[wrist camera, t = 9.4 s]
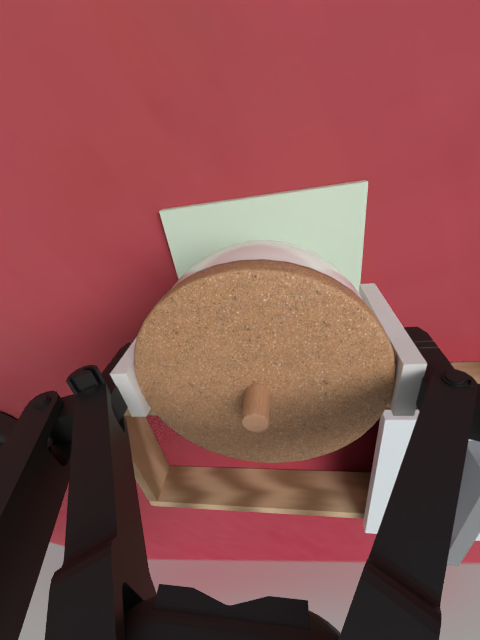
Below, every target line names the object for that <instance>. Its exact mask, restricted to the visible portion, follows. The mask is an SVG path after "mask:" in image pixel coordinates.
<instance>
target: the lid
mask: <svg viewBox="0 0 480 640" xmlns="http://www.w3.org/2000/svg"><path fill="white" fill-rule="evenodd" d="M418 414H419V410H415V414H414V416H393V414H392V411H391V410H384V412H383V414H382V415H381V417H380V422H379V428H378V435H377V441H376V447H375V453H374V459H373V465H372V471H371V477H370V483H369V490H368V496H367V502H366V508H365V514H364V520H363V525H364V530H365V533H375V534H377V533H378V530H379V527H380V524H381V521H382V518H383V515H384V512H385V510H386V507H387V504H388V501H389V498H390V495H391V492H392V489H393V486H394V484H395V481H396V478H397V475H398V472H399V469H400V466H401V463H402V461H403V458H404V455H405V452H406V449H407V446H408V443H409V440H410V437H411V435H412V432H413V429H414V426H415V423H416V420H417V417H418ZM475 540H476V541H480V442H478V441H474V440H470V439H469V441H468V447H467V452H466V458H465V464H464V470H463V475H462V481H461V487H460V492H459V498H458V504H457V509H456V515H455V521H454V526H453V532H452V538H451V544H450V549H449V555H448V561H447V565H454V566H459V564H460V563H461V561H462V560H463V558H464V557H465V555H466V554H467V552H468V550H469V549H470V547H471V546H472V544H473V543H474V541H475Z"/></svg>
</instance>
